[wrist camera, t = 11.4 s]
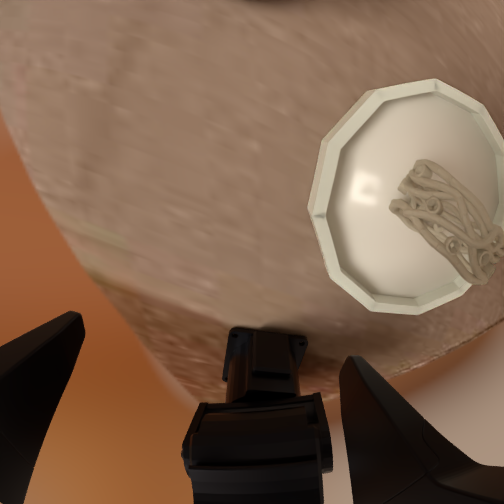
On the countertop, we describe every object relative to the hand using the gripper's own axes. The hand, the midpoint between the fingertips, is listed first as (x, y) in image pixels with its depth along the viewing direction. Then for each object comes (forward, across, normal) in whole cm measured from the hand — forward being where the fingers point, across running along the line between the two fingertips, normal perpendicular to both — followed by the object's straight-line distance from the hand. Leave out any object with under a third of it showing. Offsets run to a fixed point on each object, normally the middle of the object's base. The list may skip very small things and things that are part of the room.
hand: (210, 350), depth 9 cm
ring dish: (+12, -13, -4) cm, 18 cm away
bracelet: (+12, -12, -4) cm, 17 cm away
